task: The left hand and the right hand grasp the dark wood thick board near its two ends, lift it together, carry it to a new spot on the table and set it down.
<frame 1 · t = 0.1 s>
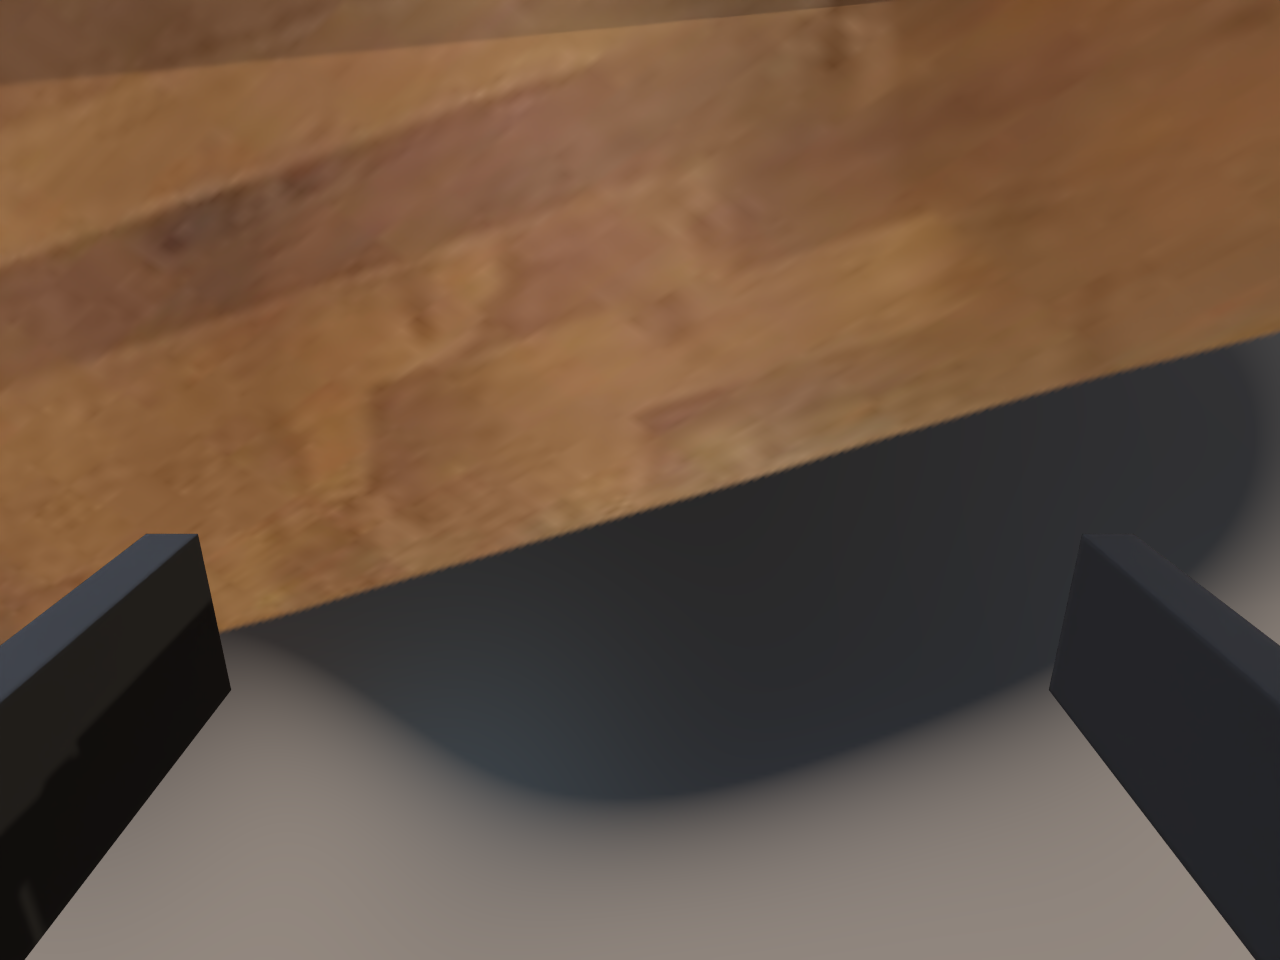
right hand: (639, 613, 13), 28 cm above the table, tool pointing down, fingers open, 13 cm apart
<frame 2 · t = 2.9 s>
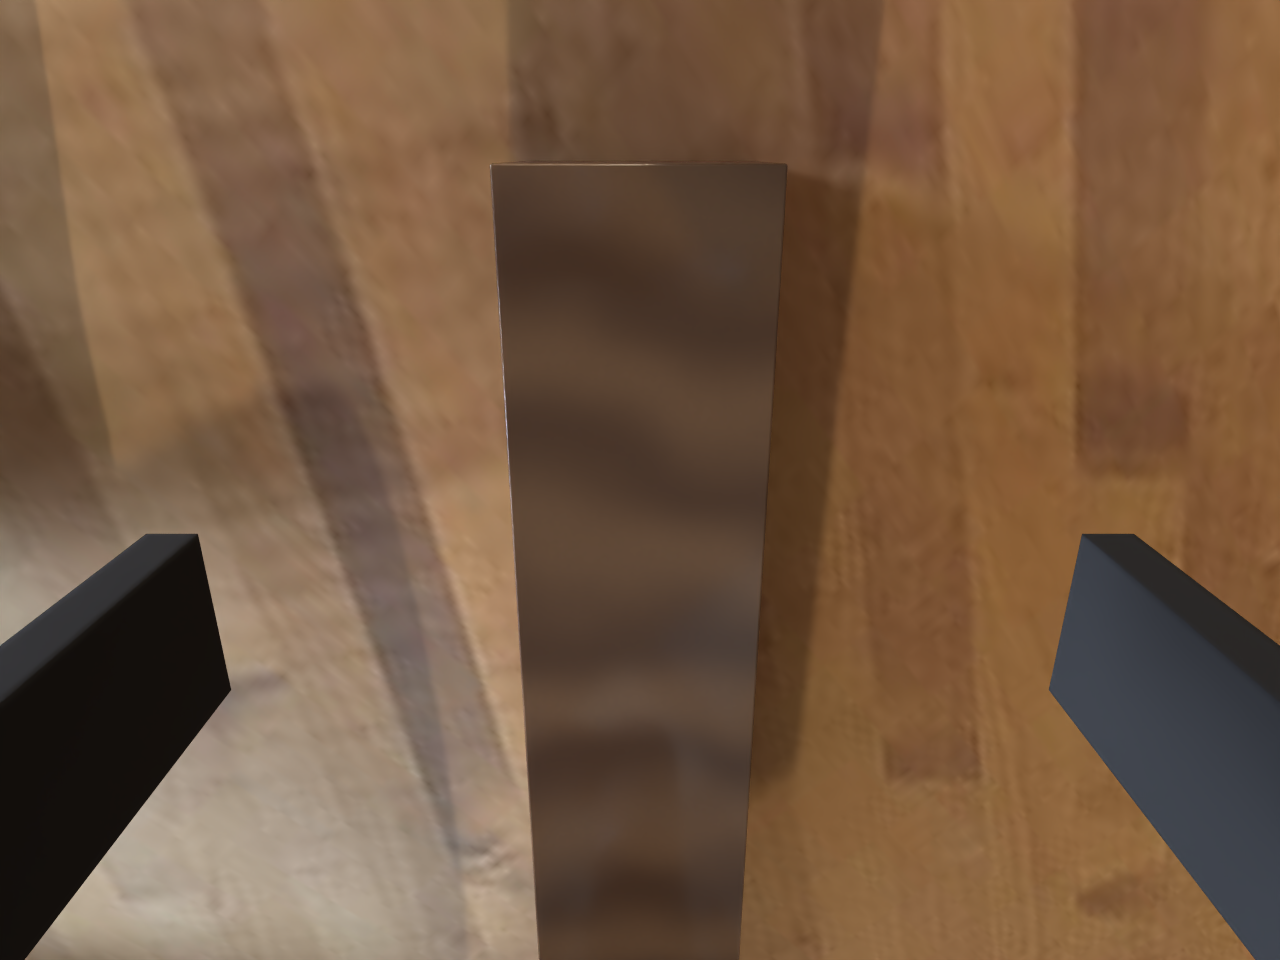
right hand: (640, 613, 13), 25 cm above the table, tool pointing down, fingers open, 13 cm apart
thick board: (638, 773, 44), on the table
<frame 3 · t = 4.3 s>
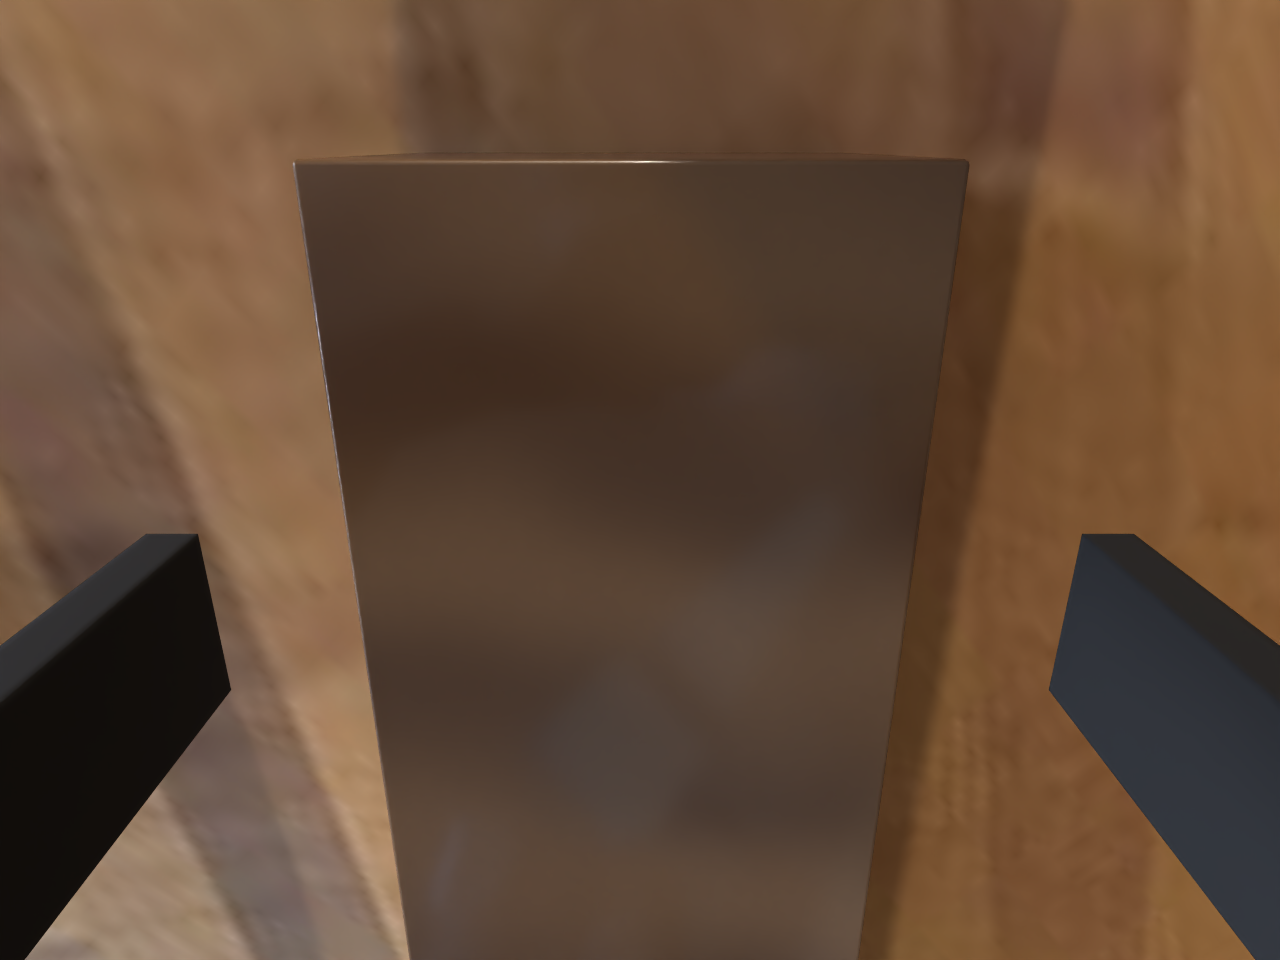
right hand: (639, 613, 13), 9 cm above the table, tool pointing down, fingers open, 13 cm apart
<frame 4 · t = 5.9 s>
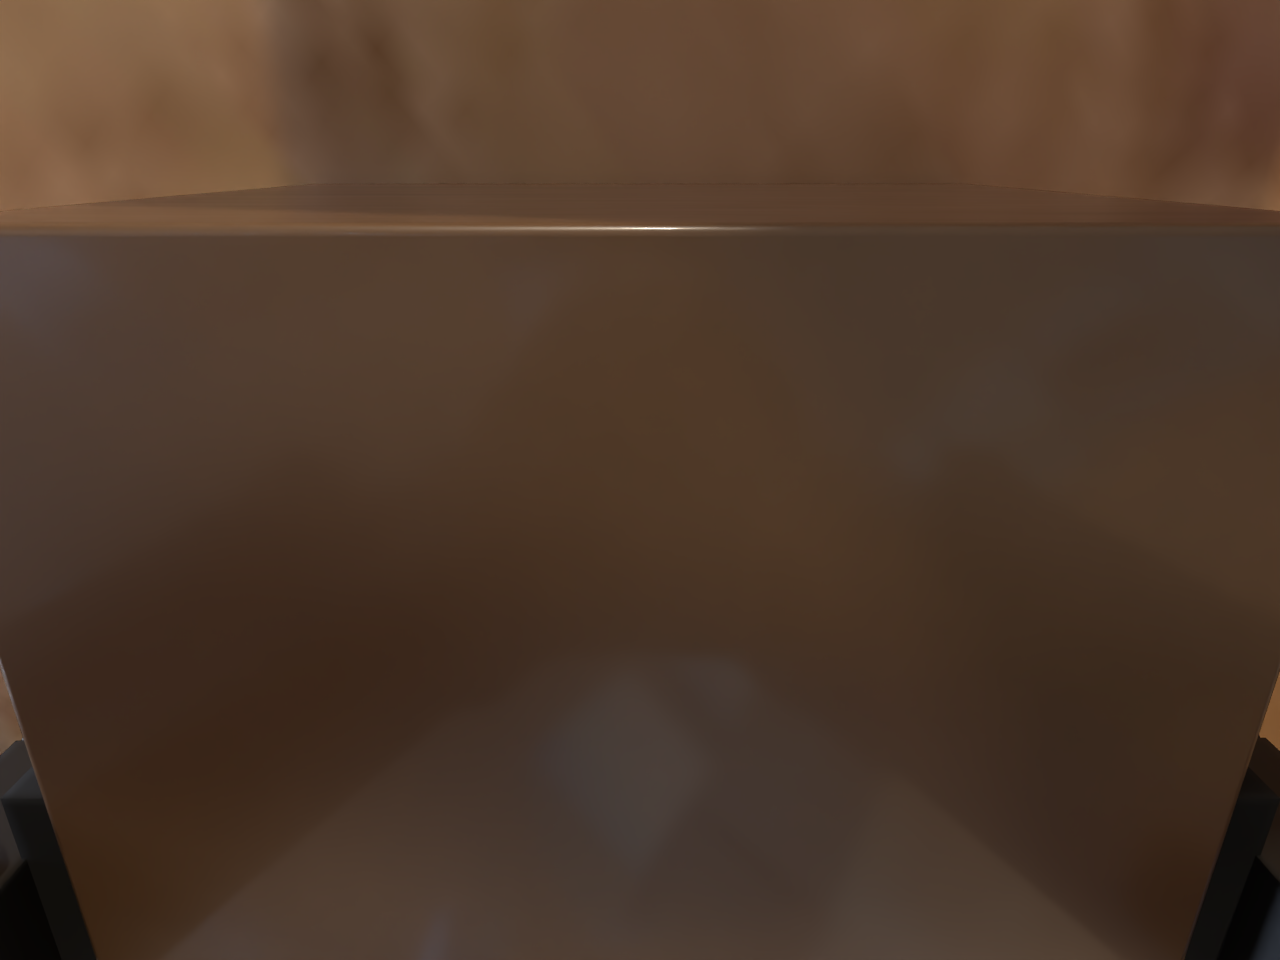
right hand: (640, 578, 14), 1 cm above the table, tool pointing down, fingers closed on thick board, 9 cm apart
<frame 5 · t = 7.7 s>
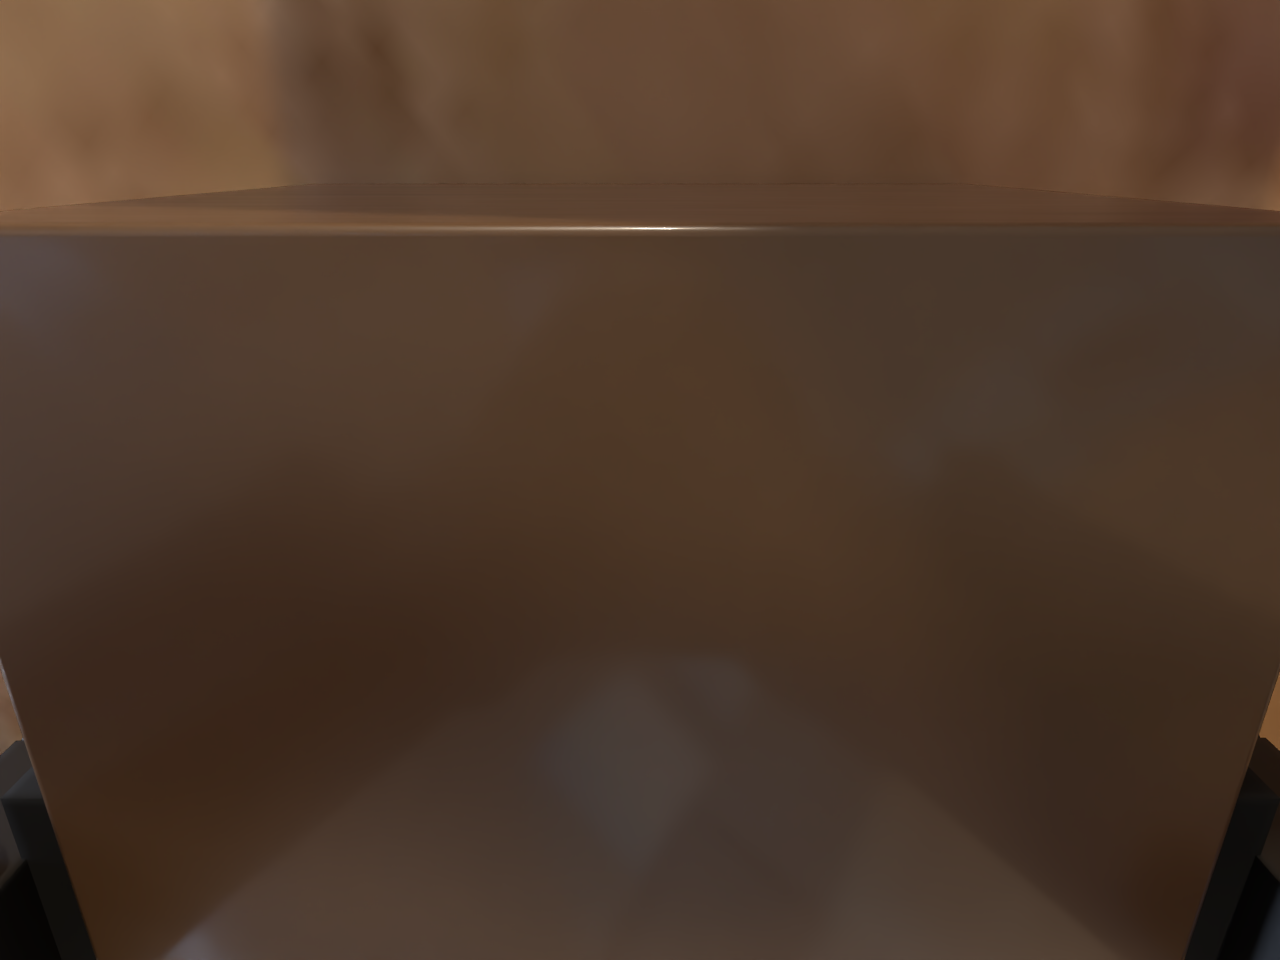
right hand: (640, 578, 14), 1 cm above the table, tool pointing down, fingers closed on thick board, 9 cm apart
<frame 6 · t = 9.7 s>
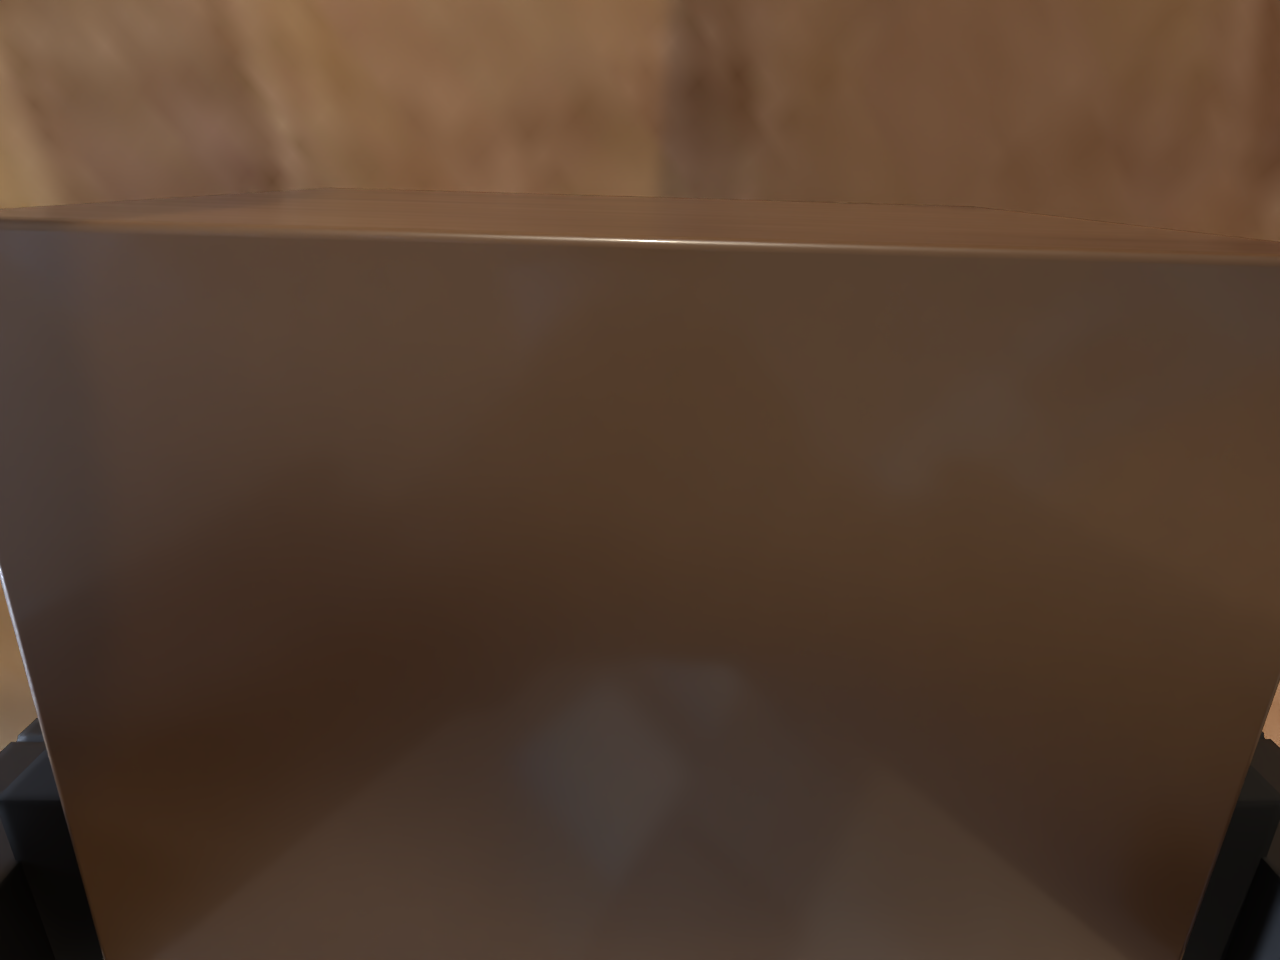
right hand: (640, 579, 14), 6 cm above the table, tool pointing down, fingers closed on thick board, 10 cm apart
when the left hand's fingers open (1 cm above the table, at t = 11.6 s): thick board stays where it is, on the table.
when the right hand's fingers open (1 cm above the table, at t = 11.6 s): thick board stays where it is, on the table.
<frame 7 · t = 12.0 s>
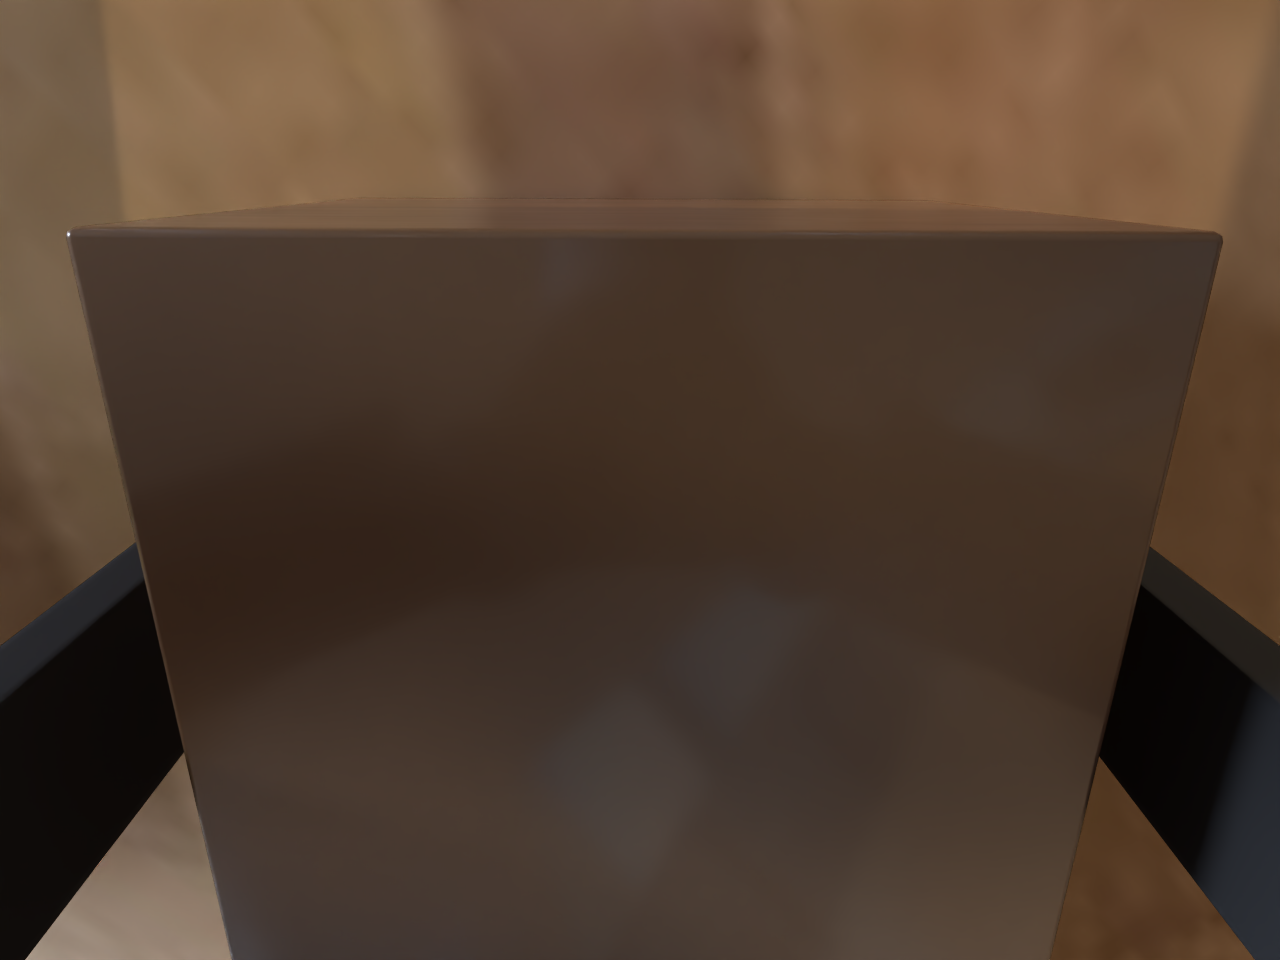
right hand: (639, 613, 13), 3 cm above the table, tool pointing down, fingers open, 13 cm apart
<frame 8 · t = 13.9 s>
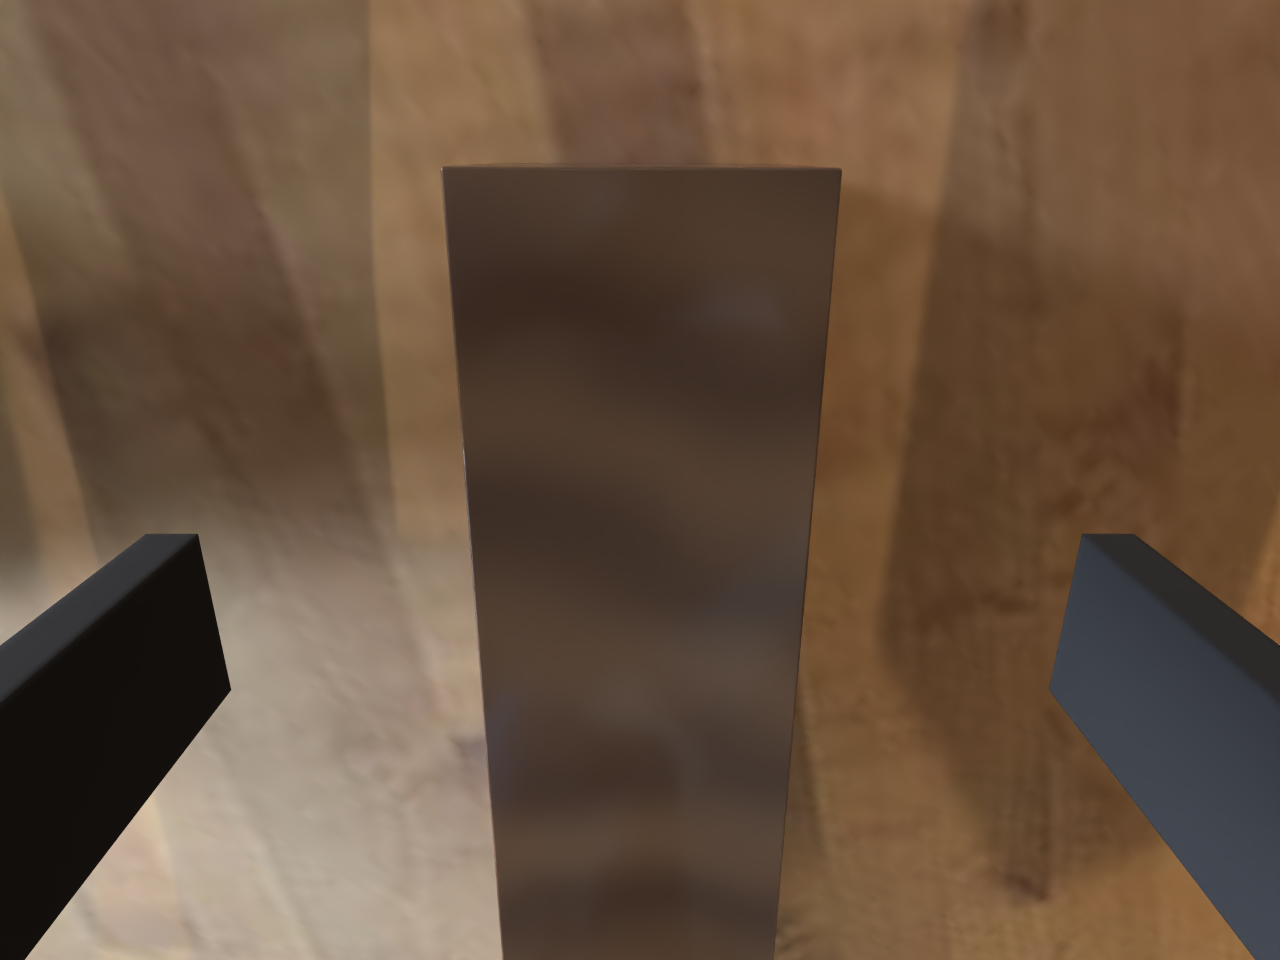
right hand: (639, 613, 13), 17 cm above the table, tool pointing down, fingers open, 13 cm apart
thick board: (637, 887, 38), on the table
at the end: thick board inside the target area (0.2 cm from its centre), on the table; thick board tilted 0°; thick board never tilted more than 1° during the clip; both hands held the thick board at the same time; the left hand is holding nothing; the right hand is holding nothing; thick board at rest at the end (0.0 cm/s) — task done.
